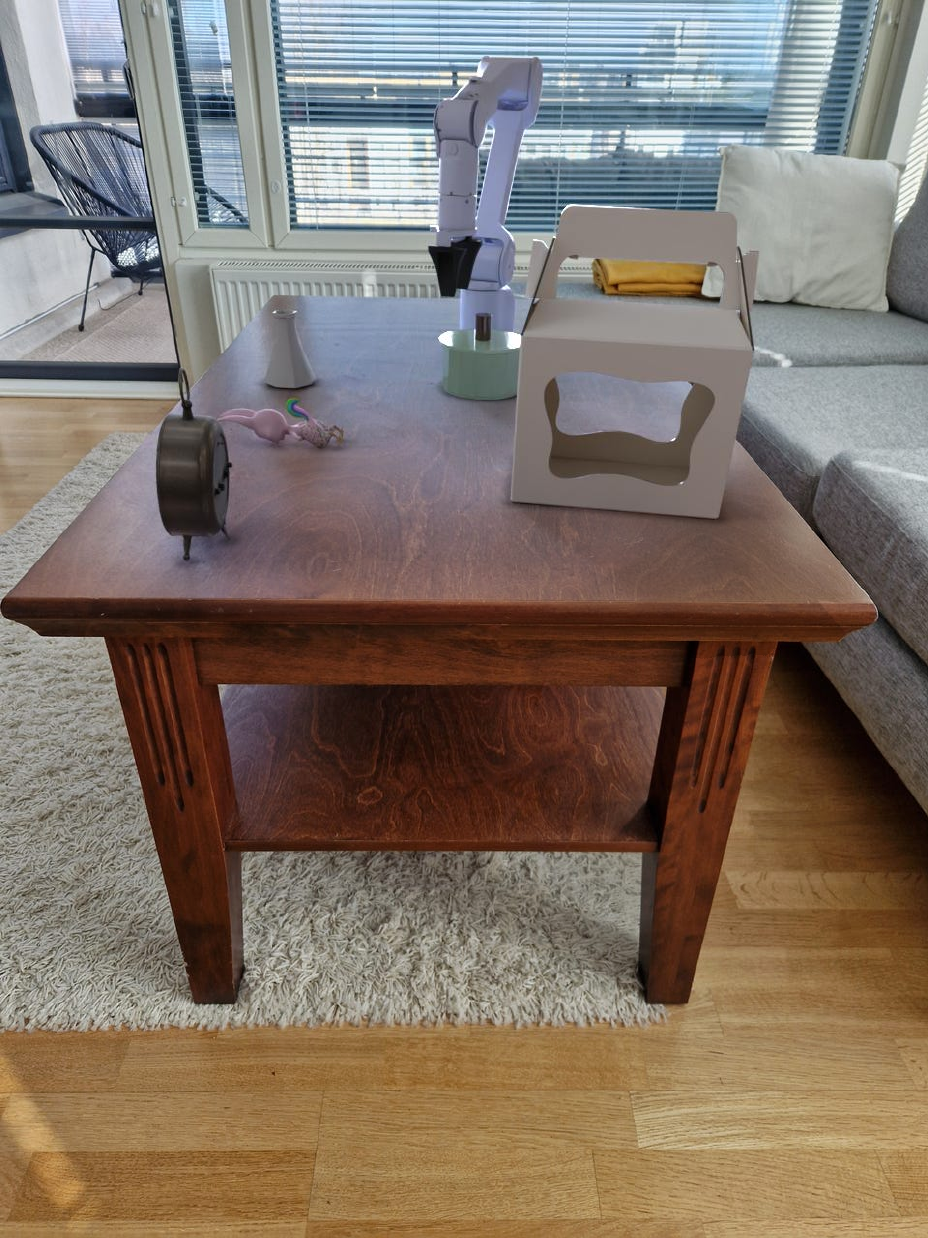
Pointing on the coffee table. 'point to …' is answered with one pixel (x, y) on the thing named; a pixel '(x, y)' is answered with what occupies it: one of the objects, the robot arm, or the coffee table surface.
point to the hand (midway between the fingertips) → (454, 292)
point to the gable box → (634, 366)
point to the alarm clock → (192, 473)
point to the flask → (288, 355)
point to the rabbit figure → (284, 425)
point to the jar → (480, 375)
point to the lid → (481, 338)
